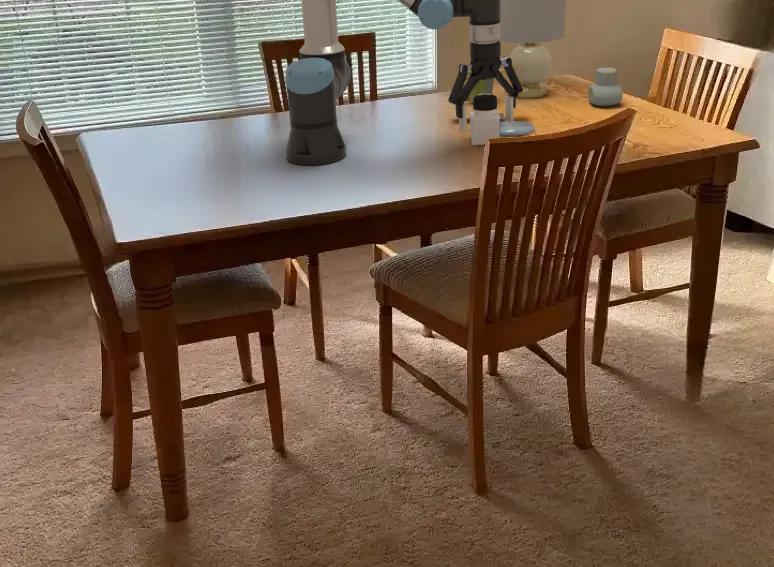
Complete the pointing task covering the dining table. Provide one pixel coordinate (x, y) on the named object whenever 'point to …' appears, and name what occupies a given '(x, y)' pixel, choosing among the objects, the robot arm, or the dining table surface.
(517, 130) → the dish
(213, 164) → the dining table surface
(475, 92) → the plant pot
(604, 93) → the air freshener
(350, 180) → the dining table surface
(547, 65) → the lamp
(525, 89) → the balance scale
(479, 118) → the medicine bottle
